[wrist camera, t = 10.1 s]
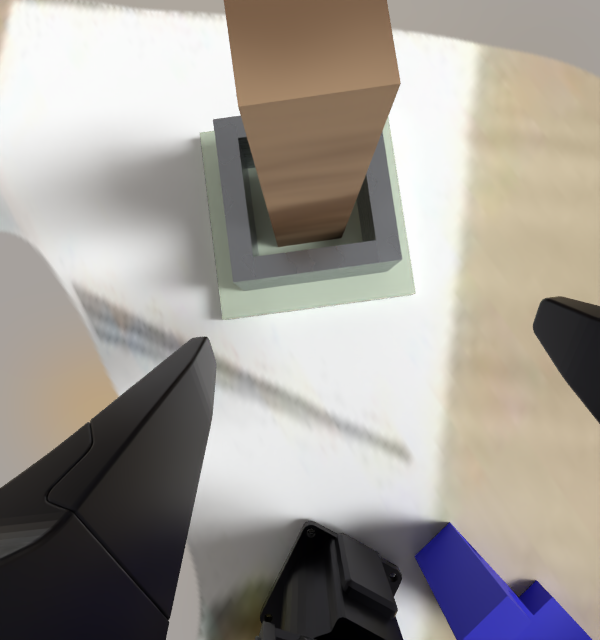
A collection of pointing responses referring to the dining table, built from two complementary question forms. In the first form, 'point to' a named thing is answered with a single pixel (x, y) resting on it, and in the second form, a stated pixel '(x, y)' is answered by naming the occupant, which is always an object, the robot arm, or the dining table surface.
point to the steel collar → (309, 264)
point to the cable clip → (488, 596)
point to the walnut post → (312, 104)
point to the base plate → (303, 294)
